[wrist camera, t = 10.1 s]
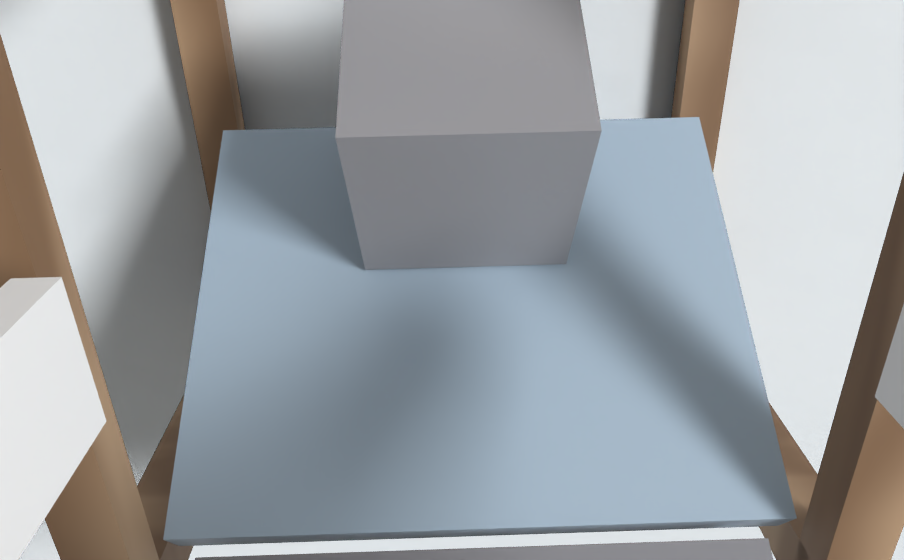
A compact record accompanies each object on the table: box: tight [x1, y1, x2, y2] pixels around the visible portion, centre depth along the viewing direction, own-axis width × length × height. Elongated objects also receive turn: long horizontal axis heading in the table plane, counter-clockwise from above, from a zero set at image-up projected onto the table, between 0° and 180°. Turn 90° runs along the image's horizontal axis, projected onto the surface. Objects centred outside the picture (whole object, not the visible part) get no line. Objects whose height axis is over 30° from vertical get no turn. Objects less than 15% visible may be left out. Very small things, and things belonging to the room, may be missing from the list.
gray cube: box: [335, 0, 602, 270], centre depth 20 cm, size 6×6×6 cm
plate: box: [163, 117, 797, 560], centre depth 21 cm, size 16×17×2 cm
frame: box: [0, 0, 904, 560], centre depth 21 cm, size 20×20×16 cm
